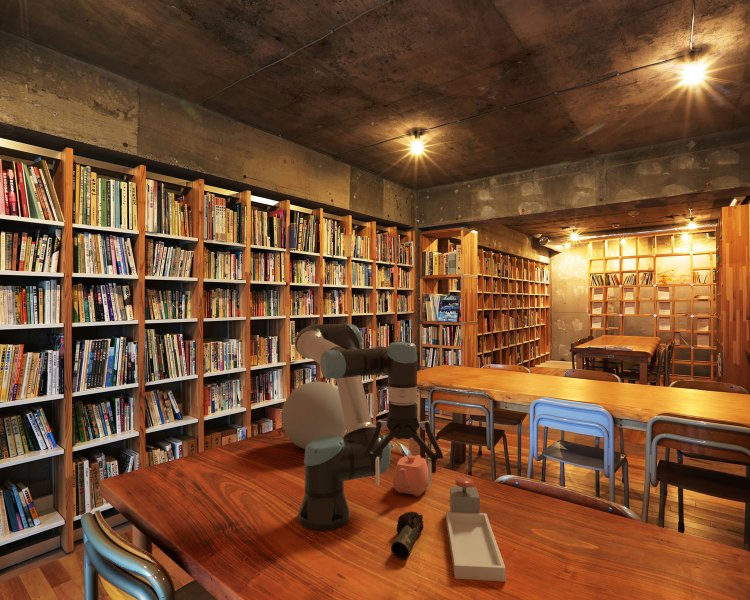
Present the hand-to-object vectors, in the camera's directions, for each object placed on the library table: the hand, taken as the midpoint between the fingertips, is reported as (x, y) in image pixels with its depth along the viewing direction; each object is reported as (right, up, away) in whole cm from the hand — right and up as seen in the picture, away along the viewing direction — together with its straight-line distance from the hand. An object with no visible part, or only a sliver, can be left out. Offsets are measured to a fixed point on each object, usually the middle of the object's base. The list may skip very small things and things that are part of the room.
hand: (403, 484), depth 109 cm
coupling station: (+18, -18, +5) cm, 26 cm away
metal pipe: (0, -21, -1) cm, 21 cm away
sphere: (-34, -19, +80) cm, 89 cm away
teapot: (+5, -19, +36) cm, 41 cm away
